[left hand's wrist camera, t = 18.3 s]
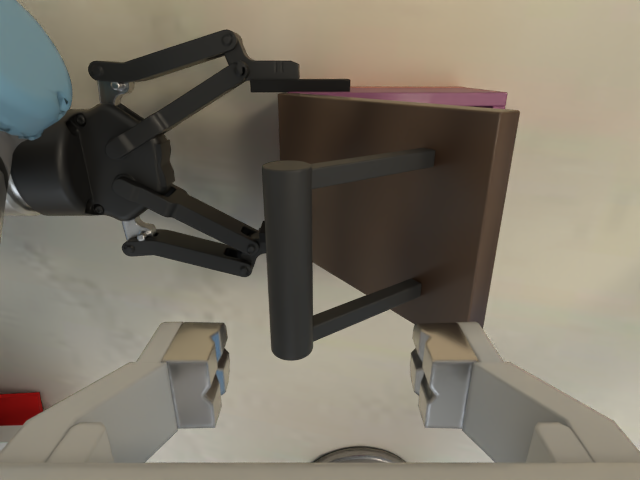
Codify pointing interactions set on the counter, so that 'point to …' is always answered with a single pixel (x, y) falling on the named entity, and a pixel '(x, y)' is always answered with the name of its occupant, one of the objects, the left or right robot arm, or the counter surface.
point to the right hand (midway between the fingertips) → (346, 162)
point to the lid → (383, 211)
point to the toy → (16, 413)
